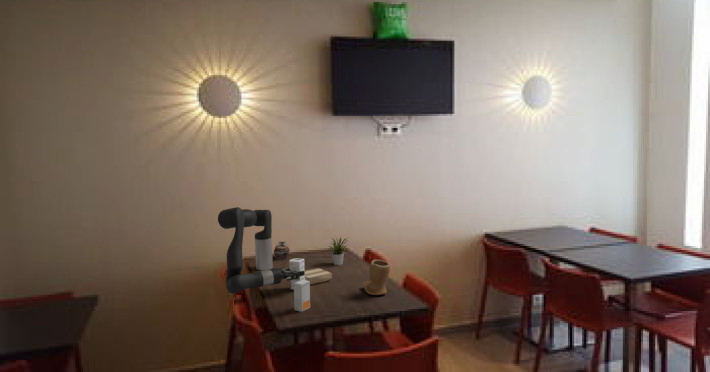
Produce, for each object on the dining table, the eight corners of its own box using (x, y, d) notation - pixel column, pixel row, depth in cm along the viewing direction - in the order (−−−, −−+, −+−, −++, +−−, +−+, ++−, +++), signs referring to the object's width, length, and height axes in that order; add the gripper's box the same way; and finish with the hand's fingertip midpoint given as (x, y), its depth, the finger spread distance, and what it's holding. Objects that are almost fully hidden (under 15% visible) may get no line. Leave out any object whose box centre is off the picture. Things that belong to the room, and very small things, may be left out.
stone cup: (392, 295, 224) (392, 264, 223) (367, 297, 223) (366, 265, 221) (386, 285, 239) (385, 255, 238) (362, 287, 237) (361, 257, 236)
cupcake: (274, 256, 301) (273, 240, 300) (290, 255, 302) (289, 239, 301) (273, 260, 292) (272, 244, 291) (289, 259, 293) (289, 243, 292)
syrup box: (305, 287, 240) (304, 258, 238) (300, 290, 234) (299, 261, 233) (295, 286, 242) (294, 257, 240) (289, 289, 236) (288, 260, 235)
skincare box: (302, 312, 206) (301, 284, 205) (294, 310, 209) (293, 283, 207) (310, 307, 211) (310, 280, 210) (303, 306, 214) (302, 279, 212)
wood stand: (297, 280, 252) (296, 272, 251) (318, 275, 259) (318, 267, 259) (309, 286, 241) (309, 278, 241) (332, 281, 249) (331, 273, 248)
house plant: (357, 262, 283) (356, 234, 281) (344, 268, 271) (343, 239, 270) (336, 259, 291) (336, 232, 289) (323, 265, 279) (322, 237, 277)
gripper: (276, 272, 223) (307, 266, 232) (262, 266, 234) (292, 260, 243) (276, 288, 223) (307, 281, 233) (263, 281, 235) (293, 275, 244)
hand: (299, 270), depth 238 cm, fingers open, 8 cm apart
